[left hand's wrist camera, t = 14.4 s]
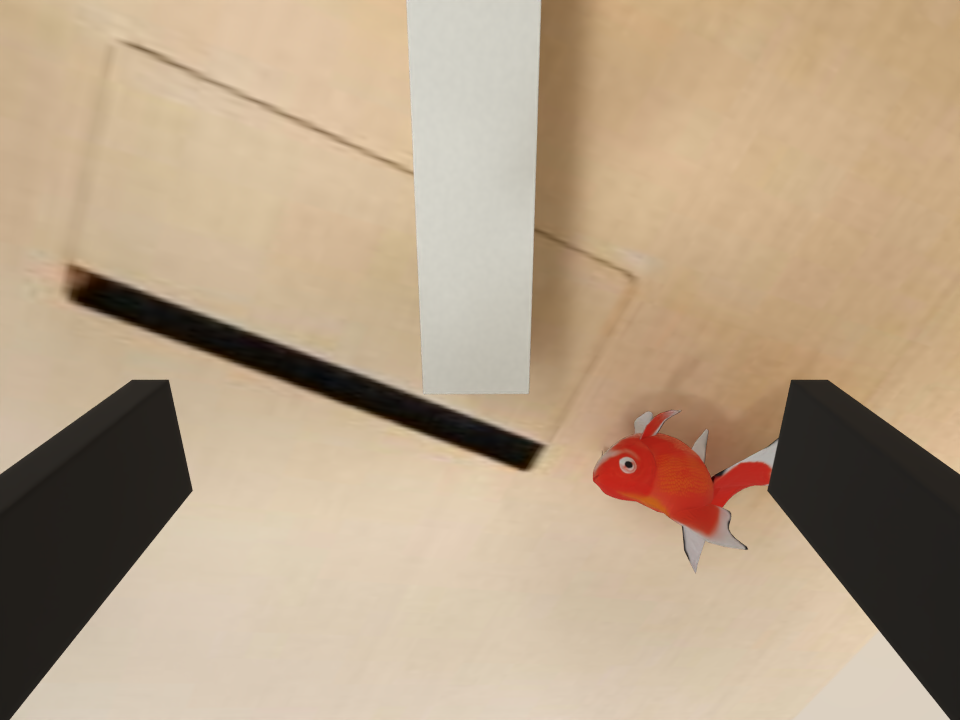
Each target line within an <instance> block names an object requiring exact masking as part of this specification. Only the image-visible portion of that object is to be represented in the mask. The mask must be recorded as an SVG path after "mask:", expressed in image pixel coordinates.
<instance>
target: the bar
mask: <svg viewBox="0 0 960 720" xmlns="http://www.w3.org/2000/svg"><path fill="white" fill-rule="evenodd" d="M406 3H407V26H408V50H409V73H410V96H411V120H412V143H413V166H414V190H415V213H416V236H417V260H418V283H419V307H420V330H421V353H422V377H423V394H529V379H530V347H531V315H532V283H533V251H534V219H535V187H536V155H537V123H538V91H539V59H540V27H541V0H406Z"/></svg>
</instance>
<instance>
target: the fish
mask: <svg viewBox="0 0 960 720" xmlns="http://www.w3.org/2000/svg"><path fill="white" fill-rule="evenodd" d="M679 412H681V410H677V411H676V410H670V411H666V412H663V413H660V414H658V415H657V416H655V417H654V418H653V419H652V417H653V414H652V413H651V412H649V411H648V412H646V413H644V414H642V415H641V416H640V417H638V418H637V419H636V420H635V422H634V427H635V433H634V434H632V435H630V436H628V437H625V438H623V439H621V440H620V441H618V442H617V443H615V444H614V445H613V446H612V447H611V448H609V449H608V450H607V451H606V452H605V453H604V454H603V452H602V456H601V458H600V459H599V460H598V462H597V464H596V466H595V468H594V471H593V481H594V482H595V483H596V484H597V485H598V486H599V487H600V488H601V490H602V491H603V492H604V493H605V494H607V495H609V496H611V497H614V498H617V499H621V500H628V501H636V502H639V503H641V504H643V505H645V506H647V507H649V508H651V509H653V510H655V511H657V512H661V513H664V514H665V515H667V516H668V517H669V518H671V519H672V520H674V521H675V522H677V523H679V524H680V525H682V530H683V541H684V551H685V553H686V555H687V557H688V559H689V561H690V563H691V565H692V567H693V569H694V571H695V574H696V569H697V565H698V561H699V558H700V554H701V551H702V548H703V545H704V543H705V540H706V541H707V542H709V543H713V544H716V545H720V546H724V547H730V548H737V549H744V550H747V549H748V548H747V547H746V546H745V545H744V544H742V543H741V542H740V541H738V540H737V539H736V538H735V537H734V536H733V535H732V534H731V533H730V531H729V523H730V520H731V513H730V511H728V510H726V509H724V508H722V507H723V506H724V505H725V503H726V502H727V501H728V500H729V499H730V498H731V497H732V496H733V495H734V494H736V493H737V492H739V491H741V490H742V489H744V488H747V487H750V486H754V485H764V486H768V485H769V481H770V476H771V472H772V467H773V462H774V458H775V453H776V448H777V444H778V439H779V438H778V439H777V440H775V441H774V442H773V443H772V444H770V445H769V446H768V447H766V448H764V449H762V450H761V451H759V452H757V453H755V454H753V455H751V456H749V457H748V458H746V459H744V460H742V461H740V462H738V463H736V464H735V465H733V466H731V467H729V468H727V469H725V470H723V471H721V472H720V473H718V474H716V475H714V476H713V477H711V476H710V474H709V472H708V470H707V468H706V466H705V464H704V462H705V453H706V444H707V437H708V432H709V431H708V429H706V430H705V431H704V432H703V433H702V435H701V436H700V437H699V438H698V439H697V441H696V442H695V444H694V445H693V447H692V449H691V448H690V447H688V446H687V445H686V444H684V443H683V442H682V441H680V440H678V439H676V438H673V437H671V436H668V435H665V434H661V433H658V432H659V430H660V428H661V427H662V425H663V423H664V422H665V421H666V420H667V419H669V418H670V417H672V416H674V415H675V414H677V413H679Z"/></svg>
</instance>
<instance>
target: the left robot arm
mask: <svg viewBox="0 0 960 720" xmlns="http://www.w3.org/2000/svg"><path fill="white" fill-rule="evenodd" d="M192 491H193V490H192V485H191V481H190V476H189V472H188V467H187V462H186V458H185V453H184V448H183V444H182V439H181V435H180V430H179V425H178V421H177V416H176V411H175V407H174V402H173V397H172V393H171V388H170V384H169V380H131V381H130V382H129V383H127V384H126V385H125V386H123V387H122V388H120V389H119V390H118V391H116V392H115V393H113V394H112V395H111V396H109V397H108V398H106V399H105V400H104V401H102V402H101V403H99V404H98V405H97V406H95V407H94V408H92V409H91V410H90V411H88V412H87V413H85V414H84V415H83V416H81V417H80V418H78V419H77V420H76V421H74V422H73V423H71V424H70V425H69V426H67V427H66V428H64V429H63V430H62V431H60V432H59V433H58V434H56V435H55V436H53V437H52V438H51V439H49V440H48V441H46V442H45V443H44V444H42V445H41V446H39V447H38V448H37V449H35V450H34V451H32V452H31V453H30V454H28V455H27V456H25V457H24V458H23V459H21V460H20V461H18V462H17V463H16V464H14V465H13V466H11V467H10V468H9V469H7V470H6V471H4V472H3V473H2V474H0V720H10V719H11V717H12V716H13V715H14V714H15V712H16V711H17V710H18V709H19V707H20V706H21V705H22V704H23V702H24V701H25V700H26V699H27V697H28V696H29V695H30V694H31V692H32V691H33V690H34V689H35V687H36V686H37V685H38V684H39V682H40V681H41V680H42V679H43V677H44V676H45V675H46V674H47V672H48V671H49V670H50V669H51V667H52V666H53V665H54V663H55V662H56V661H57V660H58V658H59V657H60V656H61V655H62V653H63V652H64V651H65V650H66V648H67V647H68V646H69V645H70V643H71V642H72V641H73V640H74V638H75V637H76V636H77V635H78V633H79V632H80V631H81V630H82V628H83V627H84V626H85V625H86V623H87V622H88V621H89V620H90V618H91V617H92V616H93V615H94V613H95V612H96V611H97V610H98V608H99V607H100V606H101V605H102V603H103V602H104V601H105V600H106V598H107V597H108V596H109V595H110V593H111V592H112V591H113V590H114V588H115V587H116V586H117V585H118V583H119V582H120V581H121V580H122V578H123V577H124V576H125V575H126V573H127V572H128V571H129V570H130V568H131V567H132V566H133V565H134V563H135V562H136V561H137V560H138V558H139V557H140V556H141V555H142V553H143V552H144V551H145V550H146V548H147V547H148V546H149V545H150V543H151V542H152V541H153V540H154V538H155V537H156V536H157V535H158V533H159V532H160V531H161V530H162V528H163V527H164V526H165V525H166V523H167V522H168V521H169V520H170V518H171V517H172V516H173V515H174V513H175V512H176V511H177V510H178V508H179V507H180V506H181V505H182V503H183V502H184V501H185V500H186V498H187V497H188V496H189V495H190V493H191V492H192ZM767 491H768V492H769V493H770V495H771V496H772V497H773V498H774V500H775V501H776V502H777V503H778V505H779V506H780V507H781V508H782V510H783V511H784V512H785V513H786V515H787V516H788V517H789V518H790V520H791V521H792V522H793V523H794V525H795V526H796V527H797V528H798V530H799V531H800V532H801V533H802V535H803V536H804V537H805V538H806V540H807V541H808V542H809V543H810V545H811V546H812V547H813V548H814V550H815V551H816V552H817V553H818V555H819V556H820V557H821V558H822V560H823V561H824V562H825V563H826V565H827V566H828V567H829V568H830V570H831V571H832V572H833V573H834V575H835V576H836V577H837V578H838V580H839V581H840V582H841V583H842V585H843V586H844V587H845V588H846V590H847V591H848V592H849V593H850V595H851V596H852V597H853V598H854V600H855V601H856V602H857V603H858V605H859V606H860V607H861V608H862V610H863V611H864V612H865V613H866V615H867V616H868V617H869V618H870V620H871V621H872V622H873V623H874V625H875V626H876V627H877V628H878V630H879V631H880V632H881V633H882V635H883V636H884V637H885V638H886V640H887V641H888V642H889V643H890V645H891V646H892V647H893V648H894V650H895V651H896V652H897V653H898V655H899V656H900V657H901V658H902V660H903V661H904V662H905V663H906V665H907V666H908V667H909V669H910V670H911V671H912V672H913V673H914V675H915V676H916V677H917V679H918V680H919V681H920V682H921V684H922V685H923V686H924V687H925V689H926V690H927V691H928V692H929V694H930V695H931V696H932V697H933V699H934V700H935V701H936V702H937V704H938V705H939V706H940V707H941V709H942V710H943V711H944V712H945V714H946V715H947V716H948V717H949V718H950V720H960V474H958V473H957V472H956V471H954V470H953V469H951V468H950V467H949V466H947V465H946V464H944V463H943V462H942V461H940V460H939V459H937V458H936V457H935V456H933V455H932V454H930V453H929V452H928V451H926V450H925V449H923V448H922V447H921V446H919V445H918V444H916V443H915V442H914V441H912V440H911V439H909V438H908V437H907V436H905V435H904V434H902V433H901V432H900V431H898V430H897V429H896V428H894V427H893V426H891V425H890V424H889V423H887V422H886V421H884V420H883V419H882V418H880V417H879V416H877V415H876V414H875V413H873V412H872V411H870V410H869V409H868V408H866V407H865V406H863V405H862V404H861V403H859V402H858V401H856V400H855V399H854V398H852V397H851V396H849V395H848V394H847V393H845V392H844V391H842V390H841V389H840V388H838V387H837V386H835V385H834V384H833V383H831V382H830V381H828V380H791V384H790V388H789V393H788V397H787V402H786V407H785V411H784V416H783V421H782V425H781V430H780V435H779V439H778V444H777V448H776V453H775V458H774V462H773V467H772V472H771V476H770V481H769V485H768V490H767Z"/></svg>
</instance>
